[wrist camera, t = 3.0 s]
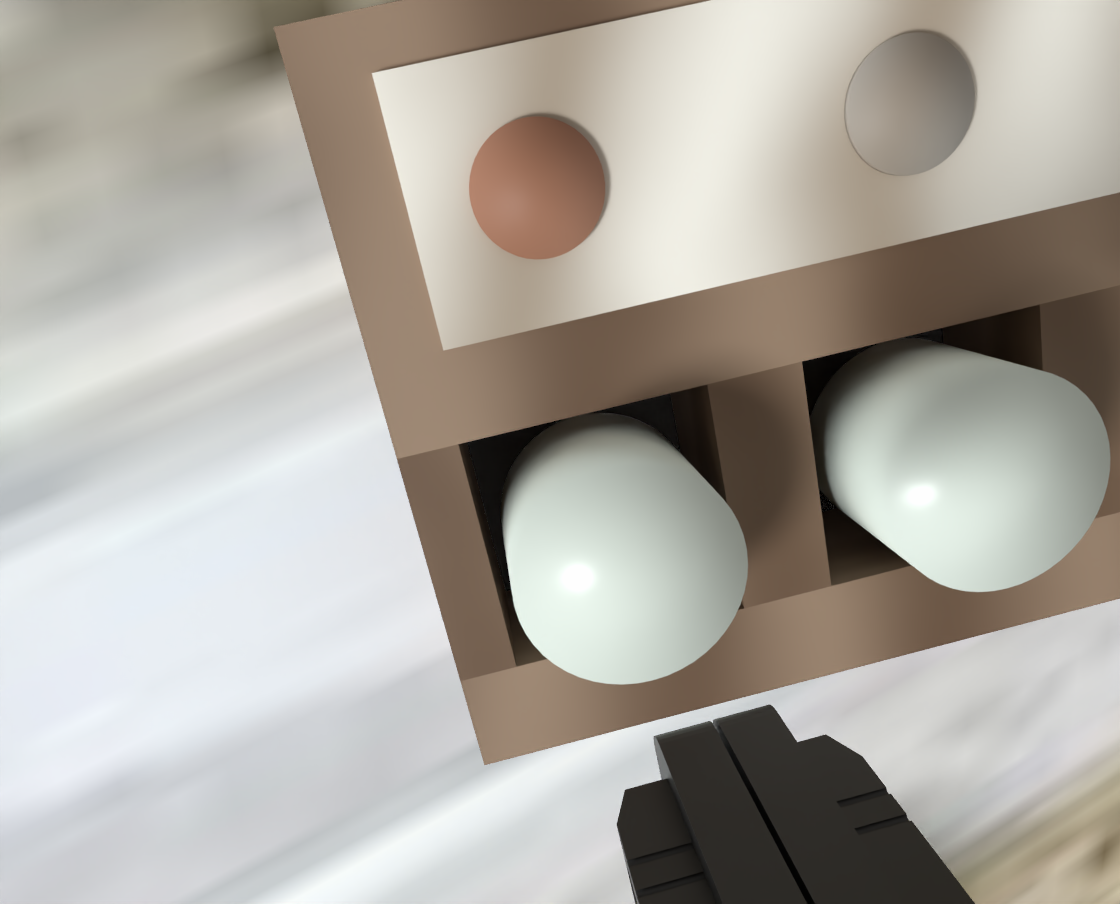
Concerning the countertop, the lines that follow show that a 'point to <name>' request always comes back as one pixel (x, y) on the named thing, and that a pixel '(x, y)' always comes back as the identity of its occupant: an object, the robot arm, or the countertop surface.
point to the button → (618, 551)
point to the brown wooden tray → (713, 280)
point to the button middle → (961, 460)
